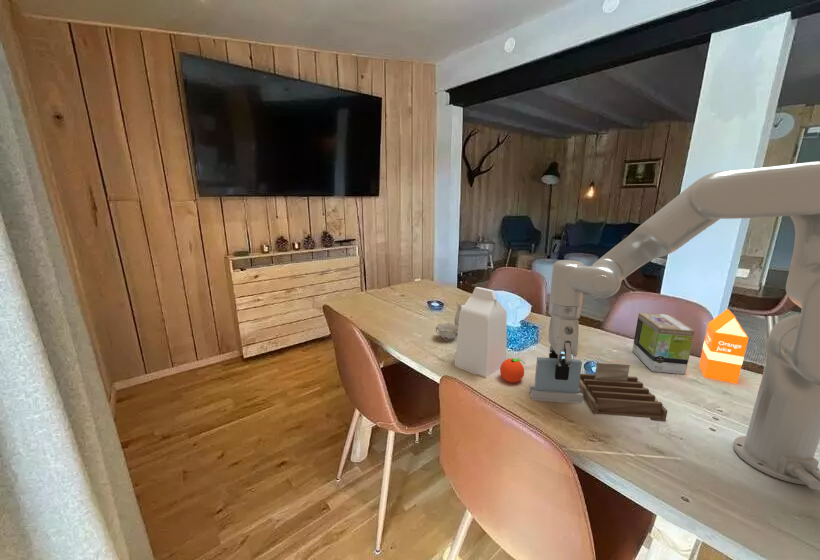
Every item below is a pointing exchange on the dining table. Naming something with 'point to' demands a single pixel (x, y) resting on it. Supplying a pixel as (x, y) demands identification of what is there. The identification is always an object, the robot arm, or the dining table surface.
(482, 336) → the milk
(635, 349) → the tea box
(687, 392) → the dining table surface
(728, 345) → the orange juice
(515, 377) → the clementine
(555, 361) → the grey upright panel
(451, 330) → the chinaware
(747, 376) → the dining table surface
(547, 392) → the stand
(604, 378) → the rack
